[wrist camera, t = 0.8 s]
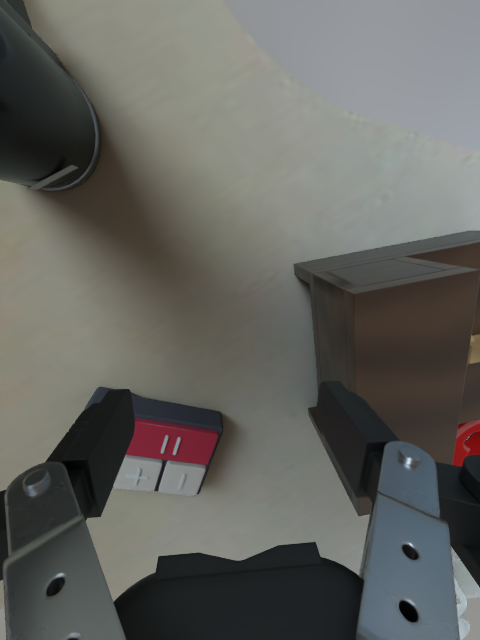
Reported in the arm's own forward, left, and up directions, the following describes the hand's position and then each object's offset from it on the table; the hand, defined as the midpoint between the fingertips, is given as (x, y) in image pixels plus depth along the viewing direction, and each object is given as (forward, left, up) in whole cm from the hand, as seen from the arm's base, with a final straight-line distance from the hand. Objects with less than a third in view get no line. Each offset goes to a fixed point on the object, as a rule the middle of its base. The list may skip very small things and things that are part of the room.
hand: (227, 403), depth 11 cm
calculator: (+16, -12, -19) cm, 27 cm away
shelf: (+8, +18, -18) cm, 27 cm away
